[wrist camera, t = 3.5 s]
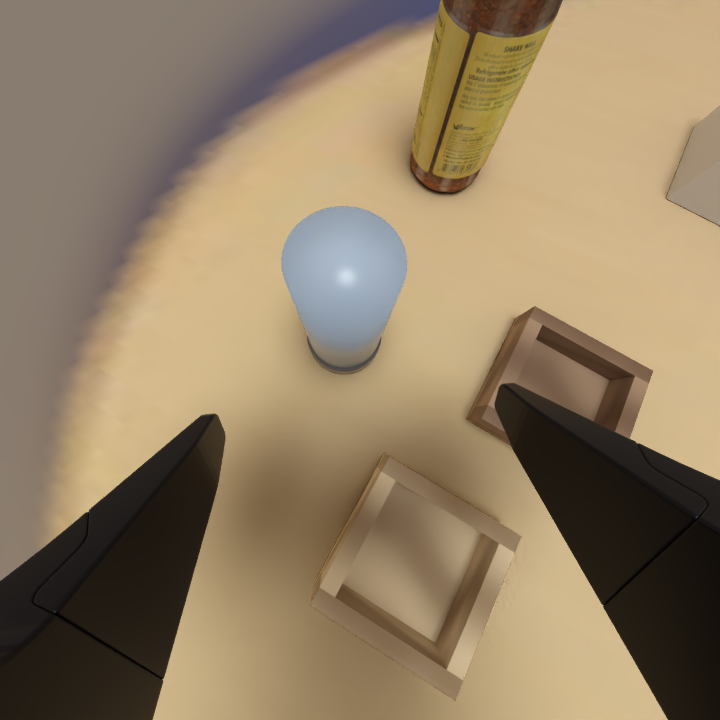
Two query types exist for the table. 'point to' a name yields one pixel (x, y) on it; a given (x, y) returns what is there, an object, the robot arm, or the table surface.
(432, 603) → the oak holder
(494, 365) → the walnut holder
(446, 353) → the table surface
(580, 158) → the table surface
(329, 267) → the light bulb
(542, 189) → the table surface
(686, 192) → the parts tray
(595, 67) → the table surface
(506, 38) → the sauce bottle
